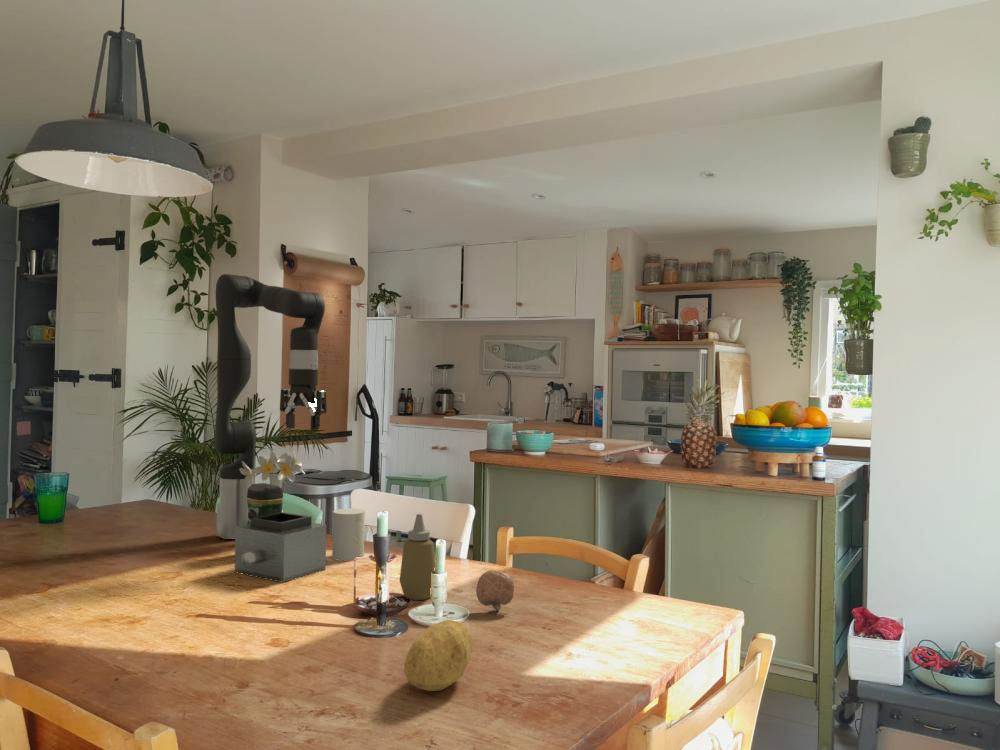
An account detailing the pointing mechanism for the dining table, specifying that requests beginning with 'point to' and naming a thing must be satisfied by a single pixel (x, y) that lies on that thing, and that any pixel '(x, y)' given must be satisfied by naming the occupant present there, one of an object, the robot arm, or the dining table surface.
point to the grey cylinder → (348, 533)
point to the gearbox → (280, 547)
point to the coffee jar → (264, 500)
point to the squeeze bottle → (417, 562)
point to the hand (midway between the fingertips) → (302, 429)
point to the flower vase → (273, 468)
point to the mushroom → (495, 589)
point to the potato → (439, 656)
